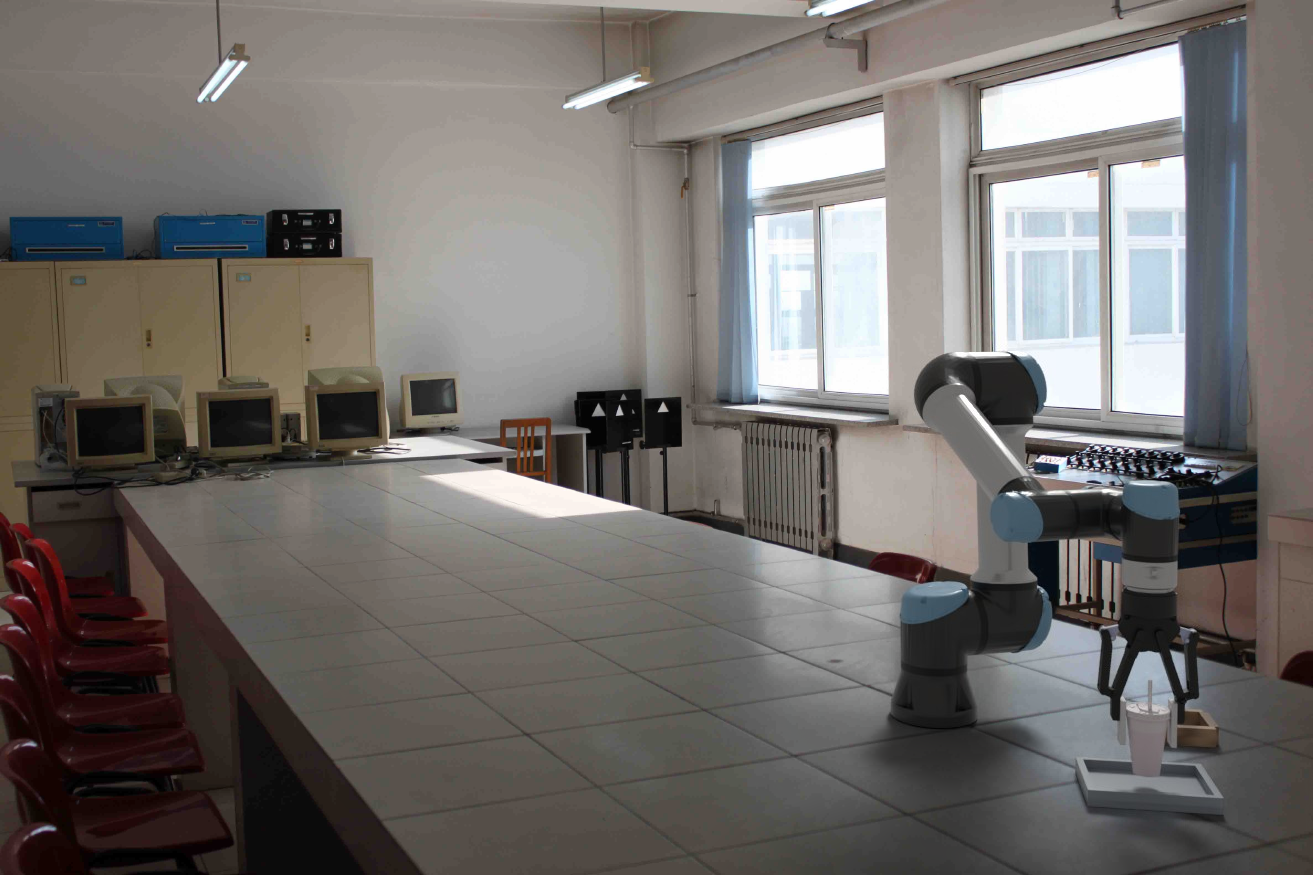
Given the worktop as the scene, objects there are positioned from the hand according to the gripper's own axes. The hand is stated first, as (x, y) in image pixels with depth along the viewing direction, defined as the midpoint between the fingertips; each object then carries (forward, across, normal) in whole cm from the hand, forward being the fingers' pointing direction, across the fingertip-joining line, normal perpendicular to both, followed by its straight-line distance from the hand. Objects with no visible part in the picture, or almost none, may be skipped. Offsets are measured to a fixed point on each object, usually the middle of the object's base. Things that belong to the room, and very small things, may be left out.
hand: (1146, 742), depth 175 cm
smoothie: (+5, 0, 0) cm, 5 cm away
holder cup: (+7, +10, +28) cm, 31 cm away
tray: (+7, 0, 0) cm, 7 cm away
